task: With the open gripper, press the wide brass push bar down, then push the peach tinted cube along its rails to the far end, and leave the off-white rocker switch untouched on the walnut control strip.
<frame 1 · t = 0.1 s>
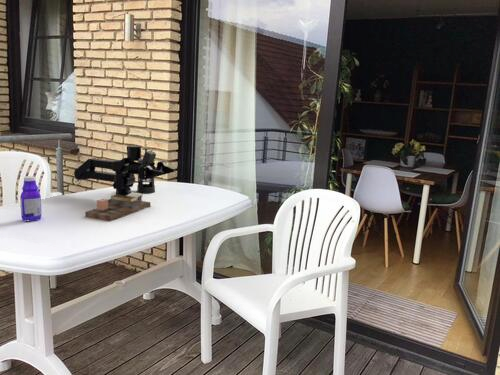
hand: (168, 172, 206), 17 cm above the table, tool horizontal, fingers open, 9 cm apart
french press: (146, 191, 239), on the table
bottle: (31, 220, 181), on the table
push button: (123, 199, 201), point 5 cm above the table, slide at 0.0 cm
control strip: (119, 211, 199), on the table
peach tinted cube: (102, 204, 192), point 4 cm above the table, slide at -2.5 cm
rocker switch: (133, 196, 207), point 4 cm above the table, hinge at 14.0°
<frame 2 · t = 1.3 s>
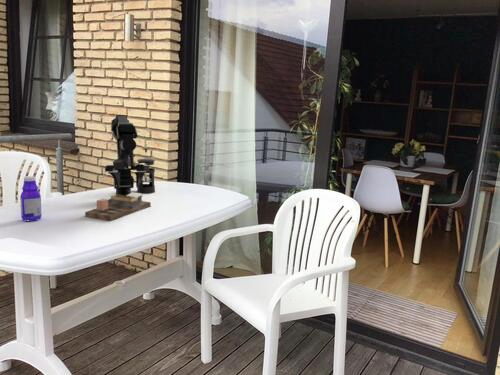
hand: (127, 187, 199), 10 cm above the table, tool pointing down, fingers open, 9 cm apart
nothing on the table moved.
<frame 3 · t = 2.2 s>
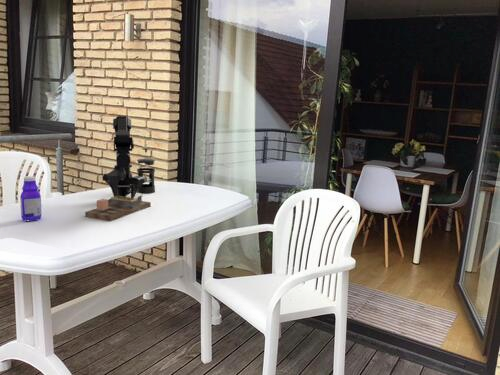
hand: (123, 197, 201), 5 cm above the table, tool pointing down
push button: (123, 200, 201), point 4 cm above the table, slide at 0.5 cm, touching gripper
everything else where it was.
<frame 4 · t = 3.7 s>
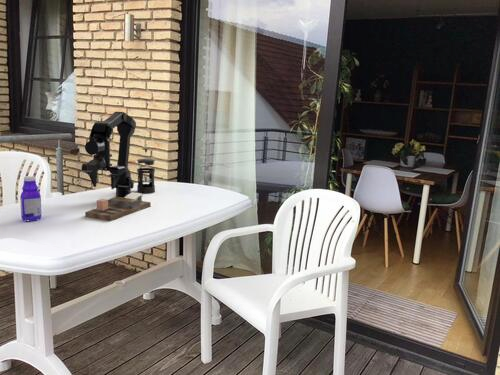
hand: (103, 188, 196), 10 cm above the table, tool pointing down, fingers open, 9 cm apart
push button: (123, 201, 201), point 4 cm above the table, slide at 1.0 cm
everything else where it was.
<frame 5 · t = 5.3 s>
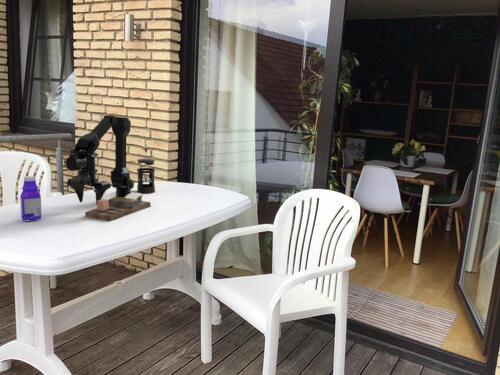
hand: (89, 203, 194), 4 cm above the table, tool pointing down, fingers open, 9 cm apart
peach tinted cube: (103, 204, 192), point 4 cm above the table, slide at -2.2 cm, touching gripper
everything else where it was.
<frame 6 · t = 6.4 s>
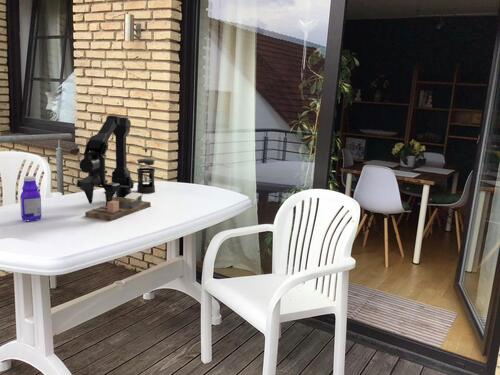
hand: (99, 204, 192), 4 cm above the table, tool pointing down, fingers open, 9 cm apart
peach tinted cube: (113, 206, 190), point 4 cm above the table, slide at 3.0 cm, touching gripper
everything else where it was.
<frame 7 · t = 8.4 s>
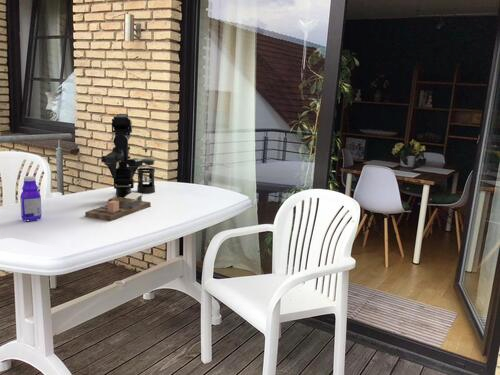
hand: (122, 179, 203), 13 cm above the table, tool pointing down, fingers open, 9 cm apart
peach tinted cube: (113, 206, 190), point 4 cm above the table, slide at 3.1 cm
everything else where it was.
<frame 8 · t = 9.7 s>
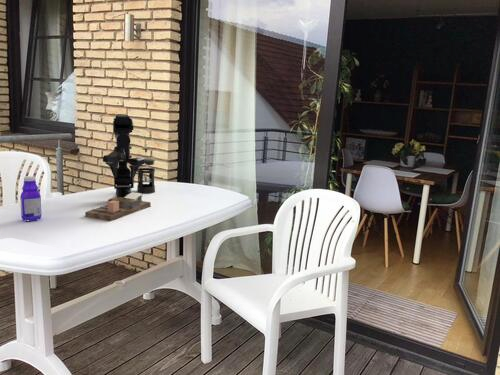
hand: (123, 179, 204), 13 cm above the table, tool pointing down, fingers open, 9 cm apart
nothing on the table moved.
at the end: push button slide at 1.0 cm; peach tinted cube slide at 3.1 cm; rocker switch at +14° (first picture: +14°) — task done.
